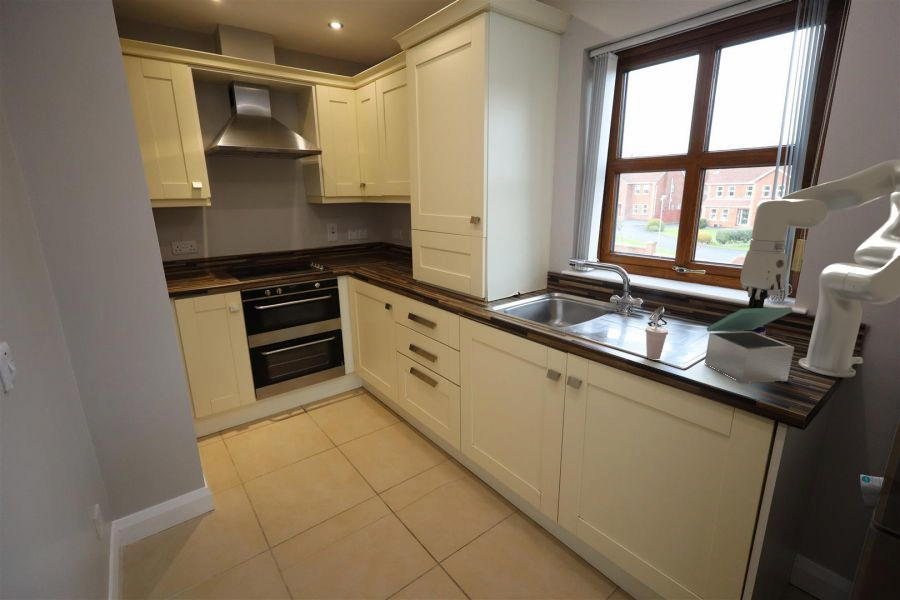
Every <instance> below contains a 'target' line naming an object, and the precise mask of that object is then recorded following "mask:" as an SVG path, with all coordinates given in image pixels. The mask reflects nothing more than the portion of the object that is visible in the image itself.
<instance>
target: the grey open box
mask: <svg viewBox="0 0 900 600" xmlns="http://www.w3.org/2000/svg"><path fill="white" fill-rule="evenodd" d="M794 351H795V346H792V345H790V344H787V343H785V342H781V341H779V340H777V339H774V338H771V337H768V336H766V335H765V336H763V335H761V334H758V333H755V332H753V331H744V330H741V331H717V332H709V333H708V339H707V346H706V352H705V359H704V364H705V363H706V364H707V365H709V366H711V367H713V368H715V369H717V370H719V371H720V372H722V373H724V374H726V375H728V376H730V377H732V378H734V379H736V380H737V381H739V382H741V383H746V384H753V383H752V382H763V383H775V381H781V382H788V379H789V374H790V370H791V365H792V359H793V355H794ZM707 365H706V366H707ZM709 366H708V367H709ZM711 367H710V368H711ZM713 368H712V369H713ZM715 369H714V370H715ZM717 370H716V371H717ZM719 371H718V372H719ZM720 372H719V373H720ZM722 373H721V374H722ZM724 374H723V375H724ZM726 375H725V376H726ZM728 376H727V377H728ZM730 377H729V378H730ZM732 378H731V379H732ZM737 381H736V382H737ZM739 382H738V383H739ZM749 382H751V383H749ZM741 383H740V384H741Z"/></svg>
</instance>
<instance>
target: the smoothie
mask: <svg viewBox="0 0 900 600" xmlns="http://www.w3.org/2000/svg"><path fill="white" fill-rule="evenodd" d="M659 316H660V315H657V314H656V318H655V325H654V326H646V327H645V330H644V332H645V333H646V335H645V336H646V337H645V338H646V339H645V340H646V343H645V344H646V358H647V357H648V358H651V359H661V356H662V354H663V353H662V352H663V349H664V345H665V342H666V338H667V336H668V335H669V330H668V329H667V328H664V327H660V326H658V323H659Z"/></svg>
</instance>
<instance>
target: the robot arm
mask: <svg viewBox="0 0 900 600" xmlns="http://www.w3.org/2000/svg"><path fill="white" fill-rule="evenodd" d="M888 195H890V197H889V199H890V208H889V209H890V210H889V216H888V219H887V220H886V221H885V222H884V223H883V224H882V226H880V227H879V228H878V229H877V230H876V231H874V233H872V234H871V235H870V236H869V237H868V238H867V239H865V240H864V241H863V242H862V243H861V244H860V245H859V246H858V247H857V248H856V250H855V251H854V254H853V259H854V262H855V263H852V262H836V263H832V264H829V265H828V266H826V267H825V268H823V270H822V271H821V273H820V274H819V278H818V290H819V291H818V293H819V296H818V303H817V304H818V305H817V310H816V314H815V318H814V323H813V327H812V332H811V337H810V339H809V344H808V349H807V354H806V357H802V358H800V359H799V360H798V365H799V366H800V367H801V368H803V369H805V370H808V371H810V372H813V373H816V374H820V375H823V376H824V375H825V376H829V377H835V378H851V377H854V376H856V372H857V371H856V369H855V368H853V367H852V366H853V365H855V364H856V365H857V364H860V365H861V364H863V363H864V359H863V357H860V356H853V354H854V350H855V346H856V342H857V338H858V335H859V330H860V326H861V323H862V320H863V319H862V318H863V309H862V305H861V302H863V303H867V304H871V305H872V304H873V305H886V304H889V303H890V304H891V302H894V301H896V300H897V299H898V298H899V297H900V158H898V159H891V160H886V161H883V162H880V163H878V164H875V165H872V166H871V167H868V168H865V169H863V170H860V171H858V172H856V173H853V174H851V175H848V176H846V177H843V178H839V179H837V180H832V181H828V182H825V183H821V184H818V185H814V186H810V187H808V188H804V189H801V190H800V189H799V190H796V191H794V192H791V193H789V194H786V195H783V196H781V197H779V198H776V199H763V200H760V201H759V202H758V203H757V205H756V210H755V215H754V220H753V226H752V231H751V238H750V244H749V248H748V250H747V252H746V255H745V256H744V257H745V258H744V260H743V264H742V268H741V273H740V283H741V288H742V289H744V290H746V291H747V297H748V298H749V299H748V306H747V309H754V308H764V306H765V305H764V304H765V300H768V298H769V297H770V296H777V295H778V294H779V291H780V290H783V289H784V287H785V283H786V278H787V277H786V276H787V268H788V267H787V266H788V265H787V253H784V251H785V250H786V249H787V247H788V246H787V244H786V242H787V236H788V231H789V228H793V229H794V228H795V229H814V228H816V227H819V226H821V225H823V224H824V223H825V222H826V221H827V219H828V217H829V216H830V215H829V214H830V212H837V211H844V210H845V211H846V210H850V209H855V208H859V207H861V206H864V205H867V204H869V203H871V202H873V201H875V200H878V199H880V198H884V197H886V196H888Z"/></svg>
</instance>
